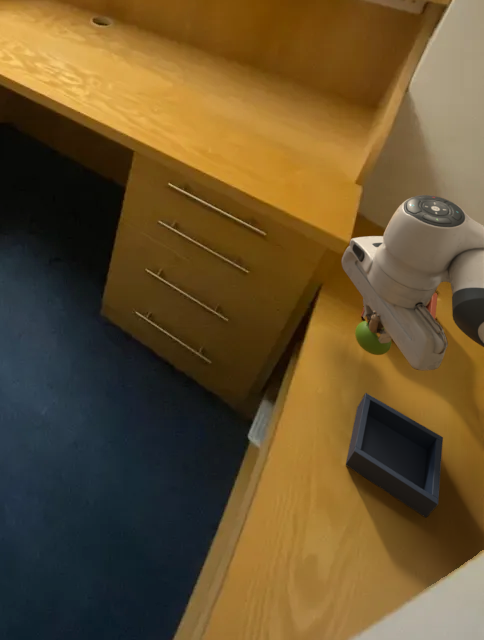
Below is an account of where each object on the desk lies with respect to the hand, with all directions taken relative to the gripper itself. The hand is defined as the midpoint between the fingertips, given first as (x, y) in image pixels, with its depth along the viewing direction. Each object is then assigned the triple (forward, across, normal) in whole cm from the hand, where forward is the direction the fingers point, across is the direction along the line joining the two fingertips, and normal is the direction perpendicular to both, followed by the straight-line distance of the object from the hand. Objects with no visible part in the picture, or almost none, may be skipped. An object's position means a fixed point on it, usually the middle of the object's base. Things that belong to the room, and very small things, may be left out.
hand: (375, 329), depth 90 cm
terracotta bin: (+9, +8, -13) cm, 18 cm away
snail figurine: (+5, 0, 0) cm, 5 cm away
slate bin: (+9, -15, +5) cm, 18 cm away
